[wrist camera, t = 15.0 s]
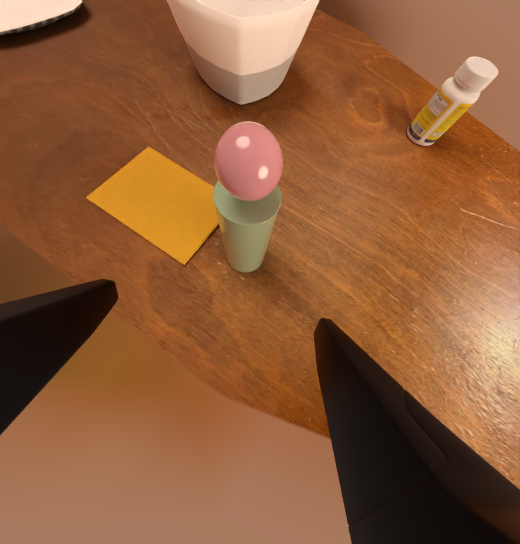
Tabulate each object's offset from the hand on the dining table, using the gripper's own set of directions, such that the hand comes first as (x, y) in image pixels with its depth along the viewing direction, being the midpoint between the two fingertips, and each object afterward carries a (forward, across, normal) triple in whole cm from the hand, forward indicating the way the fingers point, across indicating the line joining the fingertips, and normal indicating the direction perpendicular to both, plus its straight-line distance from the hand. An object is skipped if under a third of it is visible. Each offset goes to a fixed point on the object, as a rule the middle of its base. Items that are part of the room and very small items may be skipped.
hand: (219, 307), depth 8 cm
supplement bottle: (+32, -24, -15) cm, 43 cm away
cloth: (+17, +11, 0) cm, 20 cm away
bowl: (+35, +6, -18) cm, 40 cm away
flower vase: (+14, 0, +3) cm, 14 cm away
